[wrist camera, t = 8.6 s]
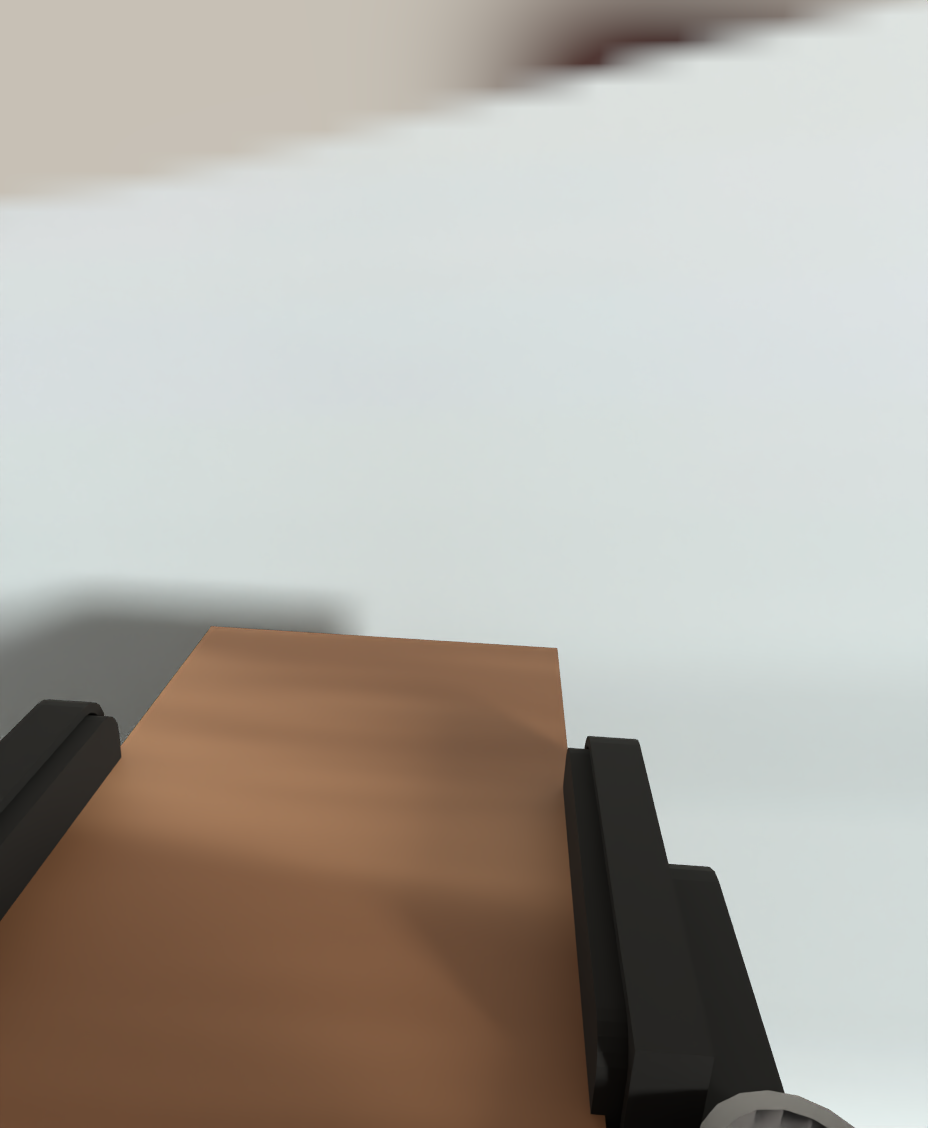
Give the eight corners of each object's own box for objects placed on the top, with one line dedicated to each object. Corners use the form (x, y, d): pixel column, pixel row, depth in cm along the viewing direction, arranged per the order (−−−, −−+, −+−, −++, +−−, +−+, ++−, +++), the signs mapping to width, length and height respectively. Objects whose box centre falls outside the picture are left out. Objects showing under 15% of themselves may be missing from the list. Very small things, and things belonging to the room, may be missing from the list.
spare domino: (548, 744, 13) (629, 1986, 4) (218, 722, 13) (-464, 1859, 4) (557, 647, 13) (676, 1833, 3) (211, 626, 13) (-598, 1696, 3)
